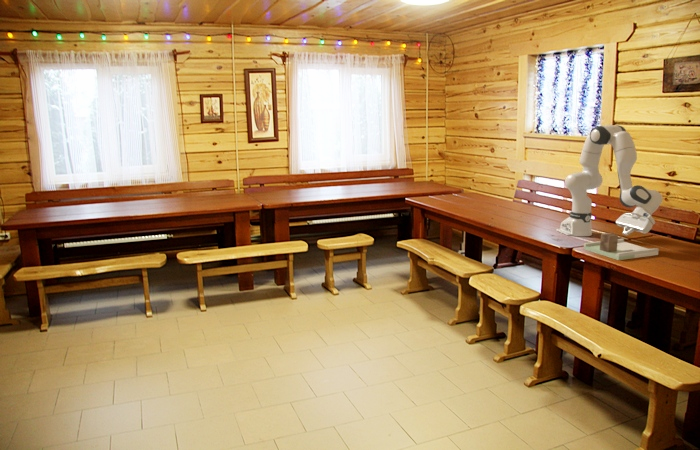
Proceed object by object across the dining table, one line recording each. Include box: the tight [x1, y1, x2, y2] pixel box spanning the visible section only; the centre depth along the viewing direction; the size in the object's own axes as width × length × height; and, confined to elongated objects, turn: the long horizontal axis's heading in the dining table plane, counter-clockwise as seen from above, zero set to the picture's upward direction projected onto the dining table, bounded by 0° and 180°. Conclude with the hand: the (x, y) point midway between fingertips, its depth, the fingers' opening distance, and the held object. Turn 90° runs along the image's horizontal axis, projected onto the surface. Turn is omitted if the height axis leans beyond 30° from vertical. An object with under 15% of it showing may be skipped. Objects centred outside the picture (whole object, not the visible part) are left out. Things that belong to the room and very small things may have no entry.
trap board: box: [583, 238, 659, 261], centre depth 319 cm, size 25×28×4 cm
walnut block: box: [599, 232, 619, 252], centre depth 314 cm, size 6×6×9 cm
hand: (624, 234), depth 319 cm, fingers closed
